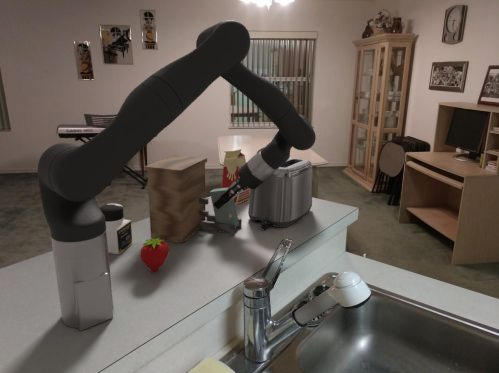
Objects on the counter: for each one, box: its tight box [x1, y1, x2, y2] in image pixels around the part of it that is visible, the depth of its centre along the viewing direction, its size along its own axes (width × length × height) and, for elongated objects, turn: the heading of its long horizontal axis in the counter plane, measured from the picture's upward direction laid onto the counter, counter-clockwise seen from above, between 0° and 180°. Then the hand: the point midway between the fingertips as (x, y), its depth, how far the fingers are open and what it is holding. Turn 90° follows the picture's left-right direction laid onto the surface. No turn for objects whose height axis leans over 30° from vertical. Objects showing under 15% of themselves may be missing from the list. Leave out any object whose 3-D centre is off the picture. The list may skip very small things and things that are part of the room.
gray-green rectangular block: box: [209, 187, 239, 228], centre depth 114 cm, size 6×4×12 cm, turn 72°
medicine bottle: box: [99, 203, 133, 255], centre depth 100 cm, size 7×7×12 cm
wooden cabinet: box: [144, 154, 243, 244], centre depth 110 cm, size 22×18×21 cm
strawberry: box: [139, 237, 170, 273], centre depth 88 cm, size 6×8×10 cm
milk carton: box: [220, 148, 250, 206], centre depth 140 cm, size 9×9×20 cm
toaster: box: [247, 156, 313, 231], centre depth 125 cm, size 17×30×19 cm, turn 147°
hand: (218, 204), depth 115 cm, fingers closed on gray-green rectangular block, 3 cm apart
